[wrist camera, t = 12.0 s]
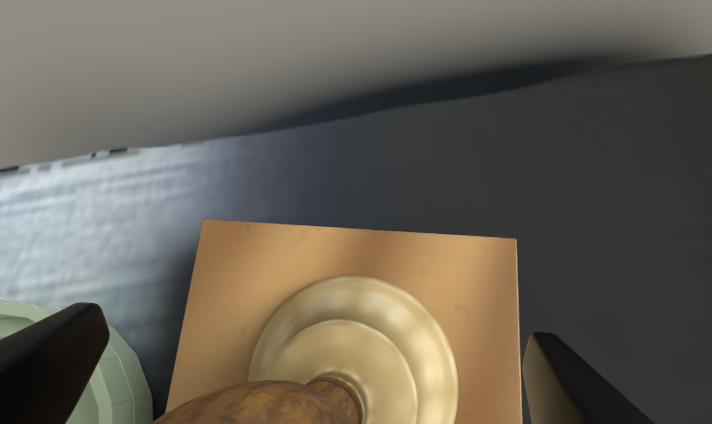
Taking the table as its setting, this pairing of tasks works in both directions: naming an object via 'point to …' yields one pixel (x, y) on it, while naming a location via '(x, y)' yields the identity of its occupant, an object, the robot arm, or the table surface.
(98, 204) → the table surface
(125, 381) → the bowl
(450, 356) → the hand bell
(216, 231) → the footstool
